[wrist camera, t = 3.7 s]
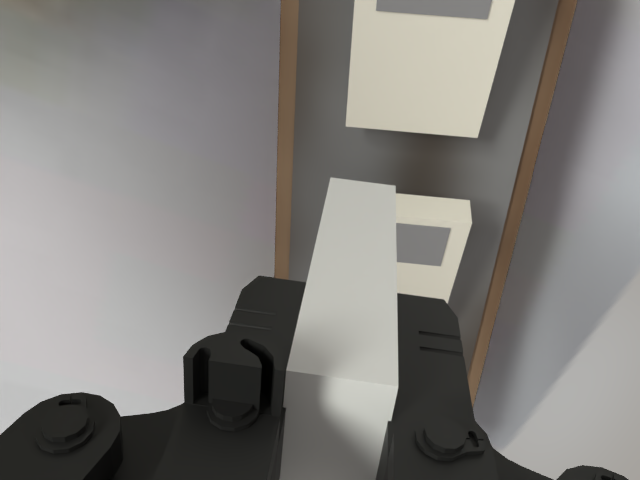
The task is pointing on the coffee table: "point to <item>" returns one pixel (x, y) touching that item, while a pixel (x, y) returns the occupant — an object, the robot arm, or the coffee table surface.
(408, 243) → the block
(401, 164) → the wooden storage box
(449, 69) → the rocker
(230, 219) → the coffee table surface
